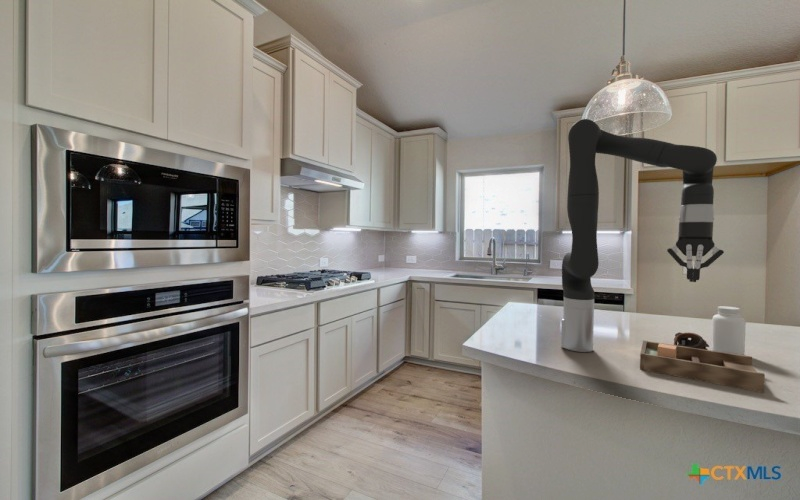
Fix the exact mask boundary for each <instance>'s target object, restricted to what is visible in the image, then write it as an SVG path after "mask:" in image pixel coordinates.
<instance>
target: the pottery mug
mask: <svg viewBox="0 0 800 500" xmlns="http://www.w3.org/2000/svg"><path fill="white" fill-rule="evenodd" d="M673 345H677V346H684V347H691V348H697V349H704V350H709V349H708V348H710V345H709V344H708V342H707V341H706V340H705V339H704V338H703V336H701V335H700V334H698V333H694V332H677V333H675V335H674V339H673Z"/></svg>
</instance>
